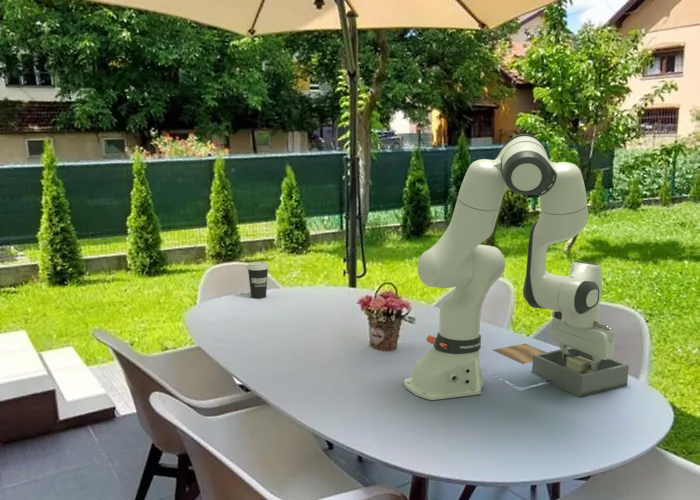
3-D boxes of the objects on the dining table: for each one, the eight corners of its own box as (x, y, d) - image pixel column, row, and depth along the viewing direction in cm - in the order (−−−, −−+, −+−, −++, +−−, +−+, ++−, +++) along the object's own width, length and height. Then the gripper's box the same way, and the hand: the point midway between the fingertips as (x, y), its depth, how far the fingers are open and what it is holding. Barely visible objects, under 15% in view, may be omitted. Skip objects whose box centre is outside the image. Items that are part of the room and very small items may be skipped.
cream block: (579, 381, 168) (580, 364, 167) (565, 375, 172) (566, 358, 171) (592, 378, 170) (593, 361, 169) (578, 372, 174) (579, 355, 173)
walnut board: (522, 367, 181) (522, 363, 181) (491, 352, 193) (492, 349, 193) (556, 359, 187) (556, 356, 187) (524, 346, 200) (525, 343, 199)
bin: (580, 397, 159) (582, 376, 158) (531, 374, 175) (533, 355, 174) (627, 385, 167) (628, 365, 166) (576, 364, 183) (577, 345, 182)
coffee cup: (244, 299, 260) (243, 265, 258) (251, 293, 269) (250, 261, 267) (265, 300, 259) (265, 265, 256) (272, 294, 268) (271, 261, 265)
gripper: (621, 326, 160) (617, 375, 163) (563, 307, 178) (560, 352, 181) (605, 329, 157) (601, 379, 160) (547, 310, 175) (544, 355, 178)
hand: (579, 364), depth 170 cm, fingers open, 8 cm apart
